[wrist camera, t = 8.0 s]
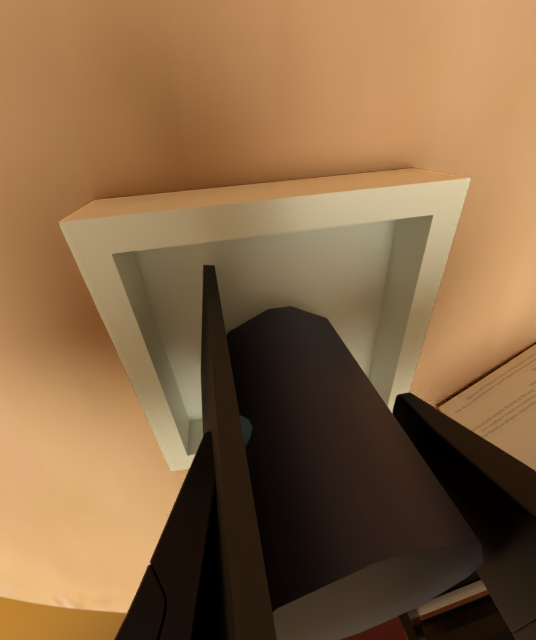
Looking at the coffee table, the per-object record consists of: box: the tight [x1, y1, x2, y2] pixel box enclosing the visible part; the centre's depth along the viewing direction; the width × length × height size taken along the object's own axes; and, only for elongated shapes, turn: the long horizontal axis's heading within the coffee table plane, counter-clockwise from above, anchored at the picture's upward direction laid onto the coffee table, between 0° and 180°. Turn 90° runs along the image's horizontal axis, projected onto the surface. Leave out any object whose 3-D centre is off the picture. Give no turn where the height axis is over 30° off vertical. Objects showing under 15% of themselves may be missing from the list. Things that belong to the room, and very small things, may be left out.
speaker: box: [201, 265, 484, 640], centre depth 9 cm, size 8×6×10 cm
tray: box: [58, 168, 471, 472], centre depth 13 cm, size 12×12×3 cm
